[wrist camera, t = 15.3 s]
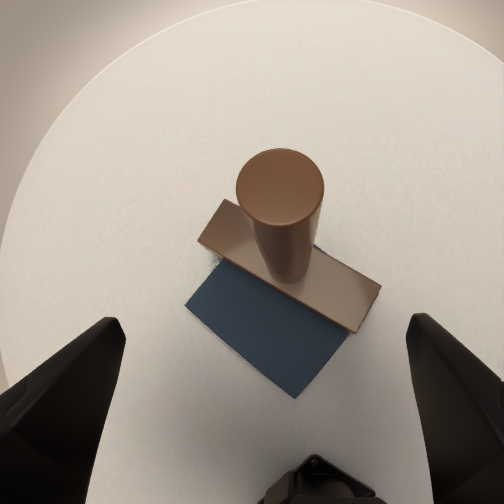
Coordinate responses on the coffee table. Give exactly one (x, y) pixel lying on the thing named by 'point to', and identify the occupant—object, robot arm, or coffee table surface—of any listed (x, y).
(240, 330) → the drying mat
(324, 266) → the wiper
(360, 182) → the coffee table surface
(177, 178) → the coffee table surface
